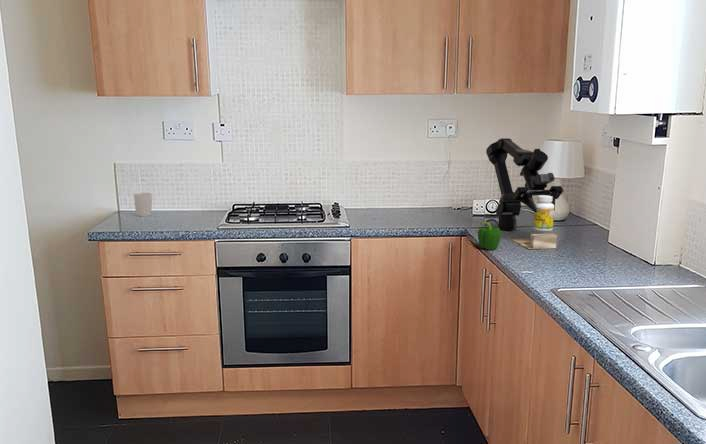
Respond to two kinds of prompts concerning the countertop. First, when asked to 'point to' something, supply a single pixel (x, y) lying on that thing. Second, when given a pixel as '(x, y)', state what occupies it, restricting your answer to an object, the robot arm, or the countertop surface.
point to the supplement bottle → (544, 214)
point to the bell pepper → (489, 237)
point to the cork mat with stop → (538, 241)
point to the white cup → (143, 204)
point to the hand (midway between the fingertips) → (544, 211)
